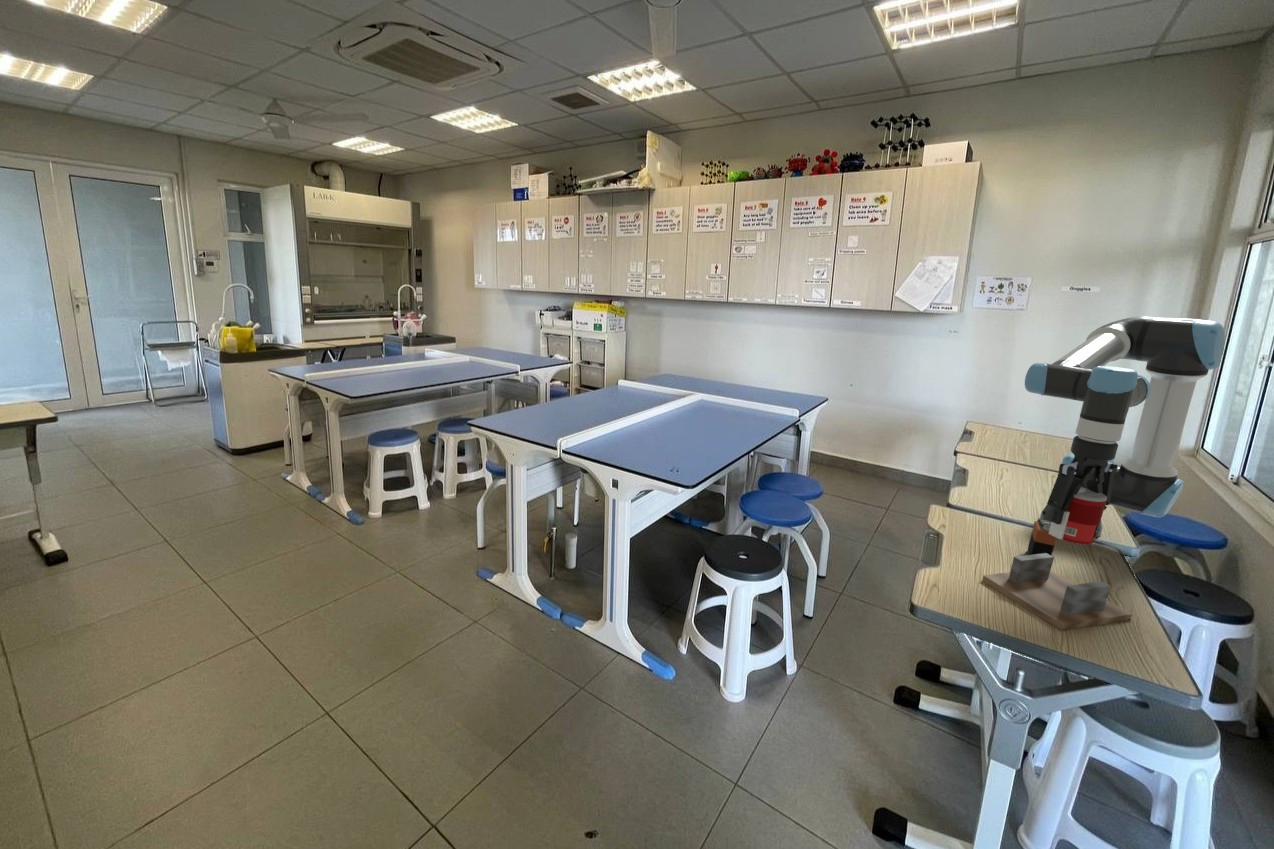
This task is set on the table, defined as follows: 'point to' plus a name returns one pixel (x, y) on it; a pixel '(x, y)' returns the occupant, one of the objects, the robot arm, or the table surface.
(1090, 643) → the table surface
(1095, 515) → the canned food
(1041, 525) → the battery
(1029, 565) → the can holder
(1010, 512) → the table surface
